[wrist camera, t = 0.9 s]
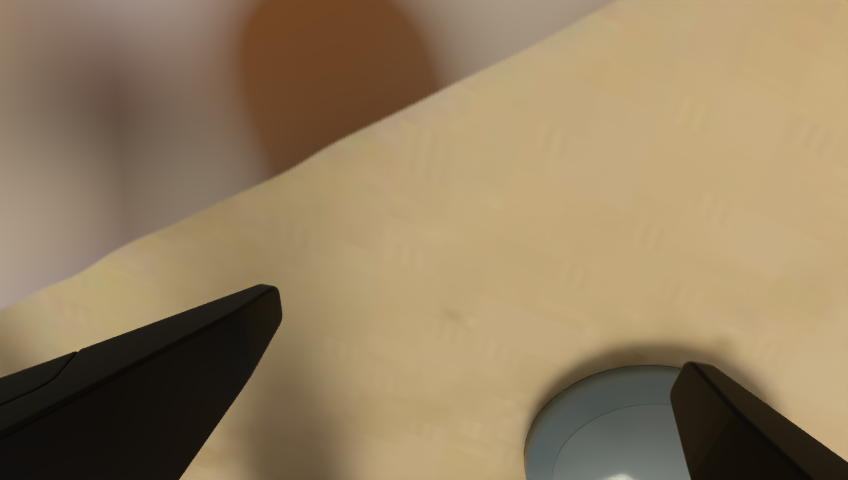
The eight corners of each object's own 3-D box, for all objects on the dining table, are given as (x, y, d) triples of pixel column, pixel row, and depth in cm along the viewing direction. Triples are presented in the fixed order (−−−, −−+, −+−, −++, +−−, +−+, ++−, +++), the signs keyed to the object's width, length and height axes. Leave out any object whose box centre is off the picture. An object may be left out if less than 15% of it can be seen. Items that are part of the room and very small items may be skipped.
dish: (641, 580, 28) (650, 604, 26) (479, 464, 27) (479, 483, 26) (829, 463, 23) (853, 485, 22) (640, 319, 22) (653, 332, 21)
